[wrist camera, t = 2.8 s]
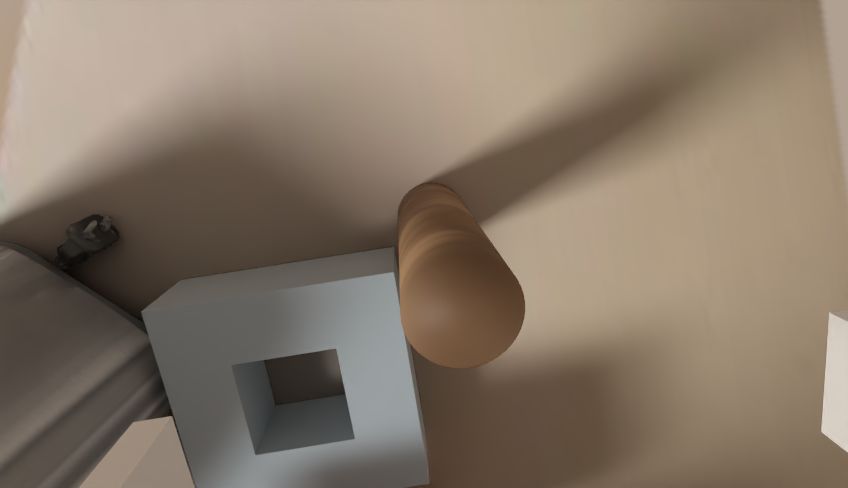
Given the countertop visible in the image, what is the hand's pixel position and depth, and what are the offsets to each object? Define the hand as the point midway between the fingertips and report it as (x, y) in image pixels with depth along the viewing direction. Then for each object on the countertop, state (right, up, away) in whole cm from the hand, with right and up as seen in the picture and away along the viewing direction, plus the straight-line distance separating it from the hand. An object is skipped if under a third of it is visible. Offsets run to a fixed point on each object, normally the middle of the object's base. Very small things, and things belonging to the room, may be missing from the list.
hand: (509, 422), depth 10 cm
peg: (-1, +5, +21) cm, 21 cm away
